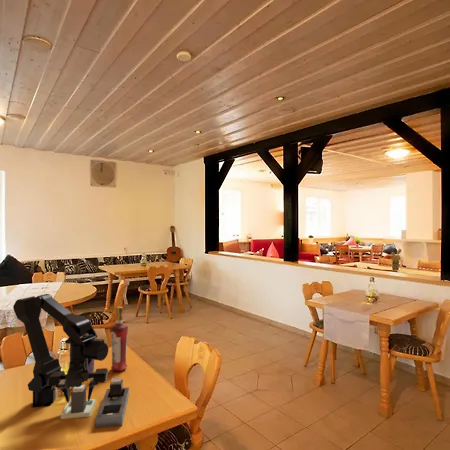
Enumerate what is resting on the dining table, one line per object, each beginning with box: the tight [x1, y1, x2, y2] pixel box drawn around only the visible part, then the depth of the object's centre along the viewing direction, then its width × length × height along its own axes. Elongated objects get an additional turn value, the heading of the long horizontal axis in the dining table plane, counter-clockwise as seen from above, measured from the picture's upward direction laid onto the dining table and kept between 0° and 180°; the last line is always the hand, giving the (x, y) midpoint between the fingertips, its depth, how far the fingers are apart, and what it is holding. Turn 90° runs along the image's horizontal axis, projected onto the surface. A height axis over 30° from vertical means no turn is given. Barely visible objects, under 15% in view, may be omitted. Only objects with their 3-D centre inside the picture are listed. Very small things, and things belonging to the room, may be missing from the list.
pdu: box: [95, 377, 130, 429], centre depth 119 cm, size 8×20×8 cm, turn 10°
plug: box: [70, 384, 87, 413], centre depth 119 cm, size 4×4×8 cm
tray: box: [60, 398, 96, 420], centre depth 119 cm, size 9×9×2 cm
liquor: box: [110, 306, 128, 373], centre depth 154 cm, size 7×7×28 cm
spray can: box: [80, 334, 95, 373], centre depth 149 cm, size 6×6×20 cm
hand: (78, 401), depth 119 cm, fingers open, 6 cm apart
